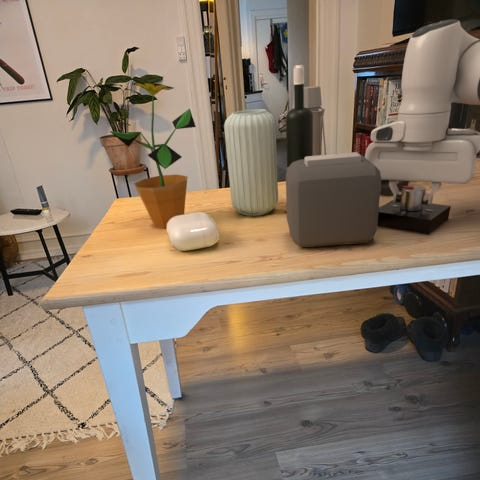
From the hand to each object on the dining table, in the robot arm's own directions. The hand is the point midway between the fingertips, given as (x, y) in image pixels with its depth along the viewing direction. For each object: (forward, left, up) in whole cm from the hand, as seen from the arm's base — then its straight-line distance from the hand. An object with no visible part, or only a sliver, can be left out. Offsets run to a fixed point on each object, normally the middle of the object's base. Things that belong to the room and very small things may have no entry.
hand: (411, 202), depth 83 cm
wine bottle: (+25, +4, -4) cm, 26 cm away
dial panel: (0, 0, -4) cm, 4 cm away
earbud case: (+32, +32, -4) cm, 45 cm away
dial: (0, 0, -1) cm, 1 cm away
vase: (+35, +9, -4) cm, 36 cm away
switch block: (+18, -21, -4) cm, 28 cm away
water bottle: (+34, -13, -4) cm, 37 cm away
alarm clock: (+9, +16, -4) cm, 19 cm away
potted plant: (+48, +26, -4) cm, 55 cm away
